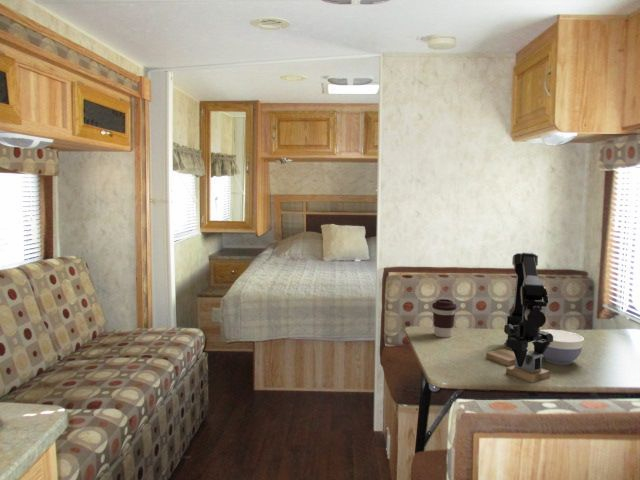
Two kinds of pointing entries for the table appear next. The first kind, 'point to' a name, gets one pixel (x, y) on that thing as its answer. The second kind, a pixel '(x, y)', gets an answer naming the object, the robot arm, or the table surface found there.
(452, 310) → the coffee cup
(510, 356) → the stand
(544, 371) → the stand
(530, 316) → the robot arm
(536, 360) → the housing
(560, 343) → the bowl
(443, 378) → the table surface
